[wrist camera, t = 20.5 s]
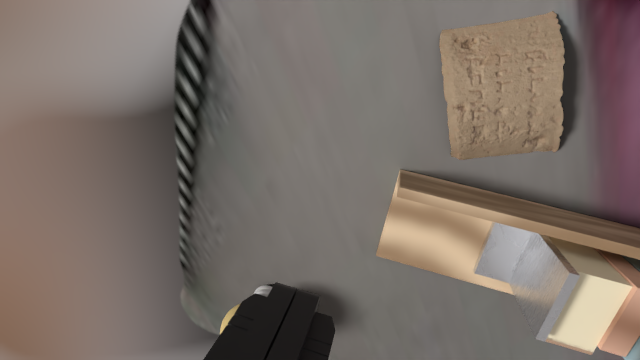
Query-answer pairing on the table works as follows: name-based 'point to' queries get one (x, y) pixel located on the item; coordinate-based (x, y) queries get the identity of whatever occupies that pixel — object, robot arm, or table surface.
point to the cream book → (588, 299)
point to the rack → (486, 207)
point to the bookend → (529, 273)
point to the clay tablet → (504, 86)
